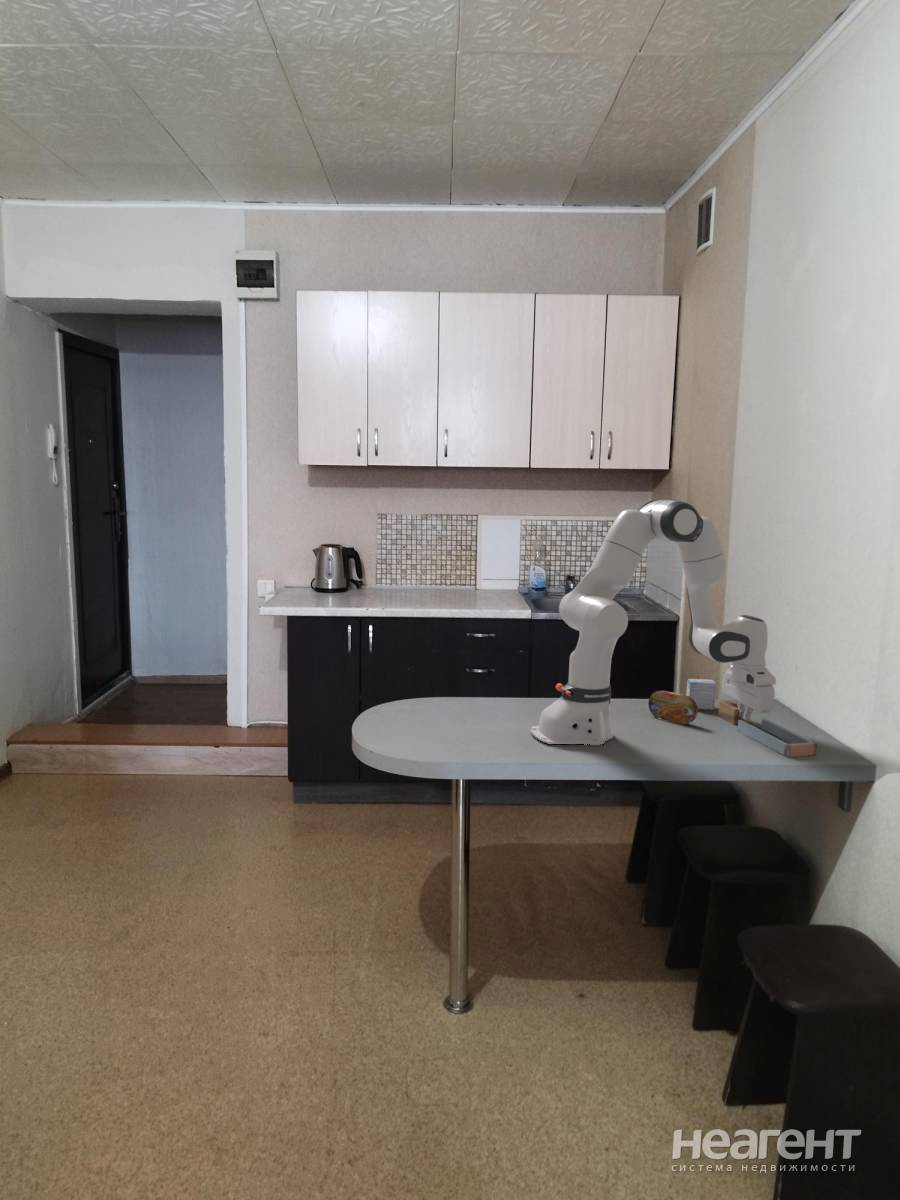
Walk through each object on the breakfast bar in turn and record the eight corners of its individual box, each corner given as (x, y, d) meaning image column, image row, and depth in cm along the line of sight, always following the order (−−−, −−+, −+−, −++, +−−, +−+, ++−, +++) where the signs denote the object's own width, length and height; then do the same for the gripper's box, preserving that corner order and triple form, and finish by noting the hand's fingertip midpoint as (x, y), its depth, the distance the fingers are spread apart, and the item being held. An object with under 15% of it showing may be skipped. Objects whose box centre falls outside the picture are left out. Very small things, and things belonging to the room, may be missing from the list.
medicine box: (711, 706, 252) (713, 679, 251) (714, 710, 248) (716, 683, 246) (685, 705, 253) (687, 678, 252) (688, 709, 249) (689, 682, 247)
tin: (647, 715, 241) (648, 688, 240) (652, 713, 244) (654, 686, 242) (692, 727, 231) (694, 699, 229) (698, 725, 233) (700, 697, 232)
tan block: (733, 724, 234) (734, 709, 234) (718, 716, 242) (719, 701, 241) (748, 723, 236) (749, 708, 235) (733, 715, 243) (734, 700, 243)
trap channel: (787, 757, 208) (788, 746, 207) (737, 730, 229) (738, 720, 229) (816, 754, 210) (817, 743, 210) (764, 728, 231) (765, 718, 231)
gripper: (718, 663, 240) (714, 708, 242) (759, 681, 220) (755, 730, 223) (736, 663, 241) (733, 707, 244) (780, 680, 222) (775, 729, 224)
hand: (744, 718), depth 233 cm, fingers closed
